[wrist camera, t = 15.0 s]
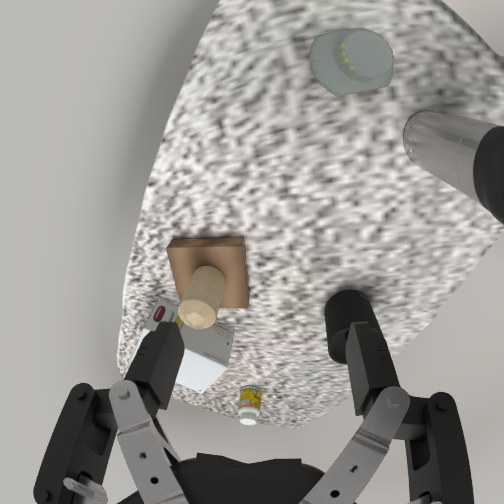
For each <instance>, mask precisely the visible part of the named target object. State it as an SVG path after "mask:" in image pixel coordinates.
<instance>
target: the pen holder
mask: <svg viewBox="0 0 504 504" xmlns="http://www.w3.org/2000/svg"><path fill="white" fill-rule="evenodd" d="M352 322H368V323H369V325H370V328H371V331H372V332H379V333H380V334H381V335H382V336H383V334H382V331H381V329H380V326H379V324H378V321H377V319H376V316H375V314H374V312H373V309H372V307H371V305H370V303H369V301H368V299H367V297H366V296H365V295H364V294H363V293H361V292H358V291H353V290H349V291H343V292H340V293H338V294H336V295H335V296H333V297H332V298H331V299H330V300H329V301H328V303H327V304H326V307H325V323H326V333H327V342H328V352H329V356H330V358H331V359H332V360H334V361H335V362H337V363H340V364H347V360H346V343H347V339H348V335H349V330H350V326H351V323H352Z"/></svg>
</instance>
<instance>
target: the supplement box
mask: <svg viewBox="0 0 504 504" xmlns="http://www.w3.org/2000/svg"><path fill="white" fill-rule="evenodd" d="M160 321H170V322H176V323H177V324H178V327H179V330H180V333H181V336H182V339H183V342H184V346H185V351H184V356H183V359H182V362H181V365H180V369H179V372H178V375H177V378H176V381H175V382H176V383H178V384H180V385H182V386H185V387H187V388H189V389H192V390H194V391H196V392H198V393H201V394H202V393H203V392H204V391H205V390H206V389H207V388H208V387H209V386H210V385H211V384H212V383H213V382H214V381H215V380H216V379H217V378H218V377H219V376H220V375H221V374H222V373H223V372H224V371H225V370H226V369H227V368H228V363H229V358H230V353H231V348H232V343H233V338H234V333H231V332H229V331H227V330H225V329H223V328H221V327H219V326H217V325H214V324H213V325H212V326H210V327H208V328H204V329H200V330H197V329H194V328H192V327H190V326H188V325H187V324H185V323H184V322H183V321H182V320H181V318H180V317H179V315H178V306H177V305H175V304H173V303H171V302H169V301H167V300H165V299H163V298H161V297H160V298H159V300H158V302H157V304H156V306H155V308H154V310H153V312H152V314H151V316H150V317H149V319H148V321H147V323H146V325H145V327H144V329H143V331H142V333H141V336H140V338H139V340H138V343H137V345H136V348H135V350H134V353H133V355H132V358H131V361H133V359H134V357H135V355H136V352H137V350H138V348H139V346H140V344H141V342H142V340H143V338H144V337H145V336H146V335H147V334H148V333H149V332H150V331H155V330H156V328H157V326H158V324H159V322H160Z"/></svg>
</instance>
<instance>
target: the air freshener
mask: <svg viewBox="0 0 504 504" xmlns="http://www.w3.org/2000/svg"><path fill="white" fill-rule="evenodd" d="M393 60H394V56H393V54H392V49H391V48H390V46H389V44H388V43H387V41H385V40H384V39H383V37H382V36H380V35H379V34H377V33H375V32H373V31H370V30H367V29H363V28H357V29H347V30H341V31H336V32H332V33H328V34H325V35H322V36H319V37H317V38H316V39H315V40H314V42H313V44H312V46H311V50H310V63H311V68H312V70H313V73H314V75H315V76H316V78H317V80H318V81H319V82H320V83H321V85H322V86H323V87H325V88H326V89H327V90H328V91H329V92H331V93H332V94H334V95H336V96H342V95H347V94H352V93H356V92H361V91H366V90H371V89H377V88H382V87H387V86H388V85H389V83H390V81H391V78H392V74H393Z"/></svg>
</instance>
